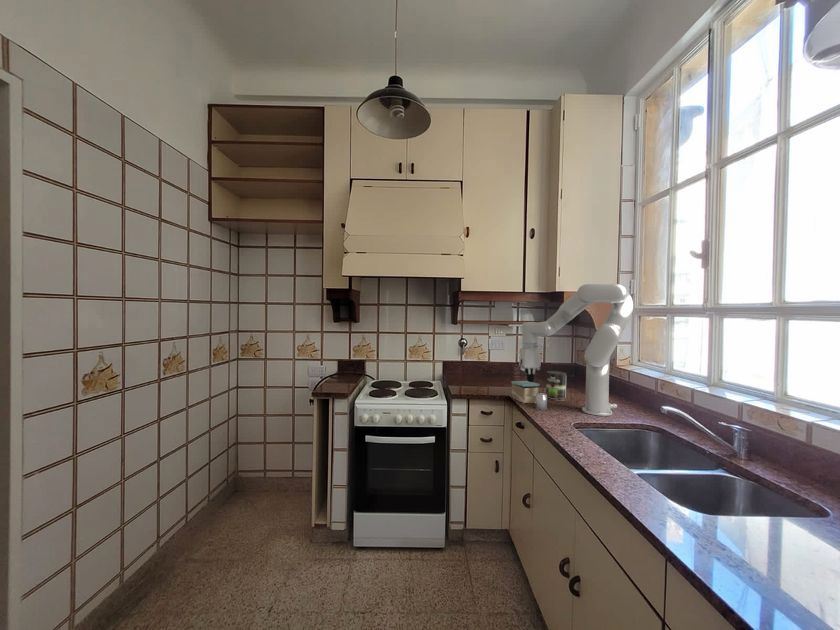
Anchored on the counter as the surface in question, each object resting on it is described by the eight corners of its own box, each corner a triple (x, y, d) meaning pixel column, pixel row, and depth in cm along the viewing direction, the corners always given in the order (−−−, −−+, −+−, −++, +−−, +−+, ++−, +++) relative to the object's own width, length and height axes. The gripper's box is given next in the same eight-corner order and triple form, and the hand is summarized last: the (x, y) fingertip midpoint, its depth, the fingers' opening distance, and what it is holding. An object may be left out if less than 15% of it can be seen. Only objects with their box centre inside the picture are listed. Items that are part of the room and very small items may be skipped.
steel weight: (543, 406, 168) (543, 392, 168) (549, 409, 163) (549, 395, 163) (533, 407, 167) (534, 393, 167) (539, 410, 162) (539, 395, 162)
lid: (526, 382, 187) (526, 380, 187) (539, 385, 175) (539, 383, 175) (511, 383, 185) (511, 381, 185) (523, 386, 173) (523, 384, 173)
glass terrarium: (562, 401, 179) (562, 374, 179) (542, 398, 186) (543, 372, 186) (569, 398, 187) (569, 372, 187) (550, 395, 194) (550, 370, 194)
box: (526, 397, 187) (526, 383, 187) (538, 403, 175) (539, 387, 175) (511, 398, 185) (511, 383, 185) (523, 404, 173) (523, 388, 173)
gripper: (538, 345, 181) (539, 379, 181) (513, 345, 178) (513, 381, 178) (547, 346, 174) (547, 382, 174) (520, 346, 170) (521, 383, 170)
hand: (530, 381), depth 176 cm, fingers closed
